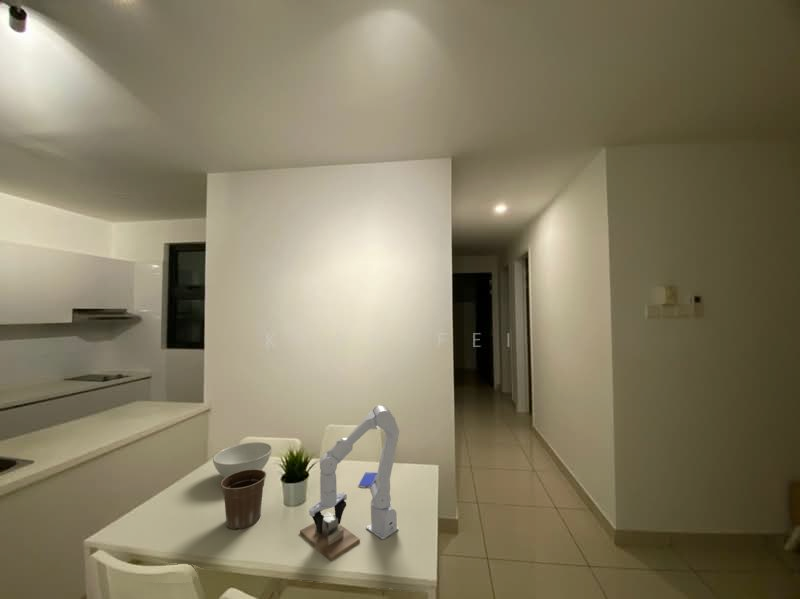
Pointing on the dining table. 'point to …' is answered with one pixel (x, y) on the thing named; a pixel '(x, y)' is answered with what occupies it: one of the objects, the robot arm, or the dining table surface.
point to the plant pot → (243, 497)
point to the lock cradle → (330, 540)
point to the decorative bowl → (242, 458)
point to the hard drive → (367, 480)
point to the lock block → (329, 524)
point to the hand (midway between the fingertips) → (329, 527)
